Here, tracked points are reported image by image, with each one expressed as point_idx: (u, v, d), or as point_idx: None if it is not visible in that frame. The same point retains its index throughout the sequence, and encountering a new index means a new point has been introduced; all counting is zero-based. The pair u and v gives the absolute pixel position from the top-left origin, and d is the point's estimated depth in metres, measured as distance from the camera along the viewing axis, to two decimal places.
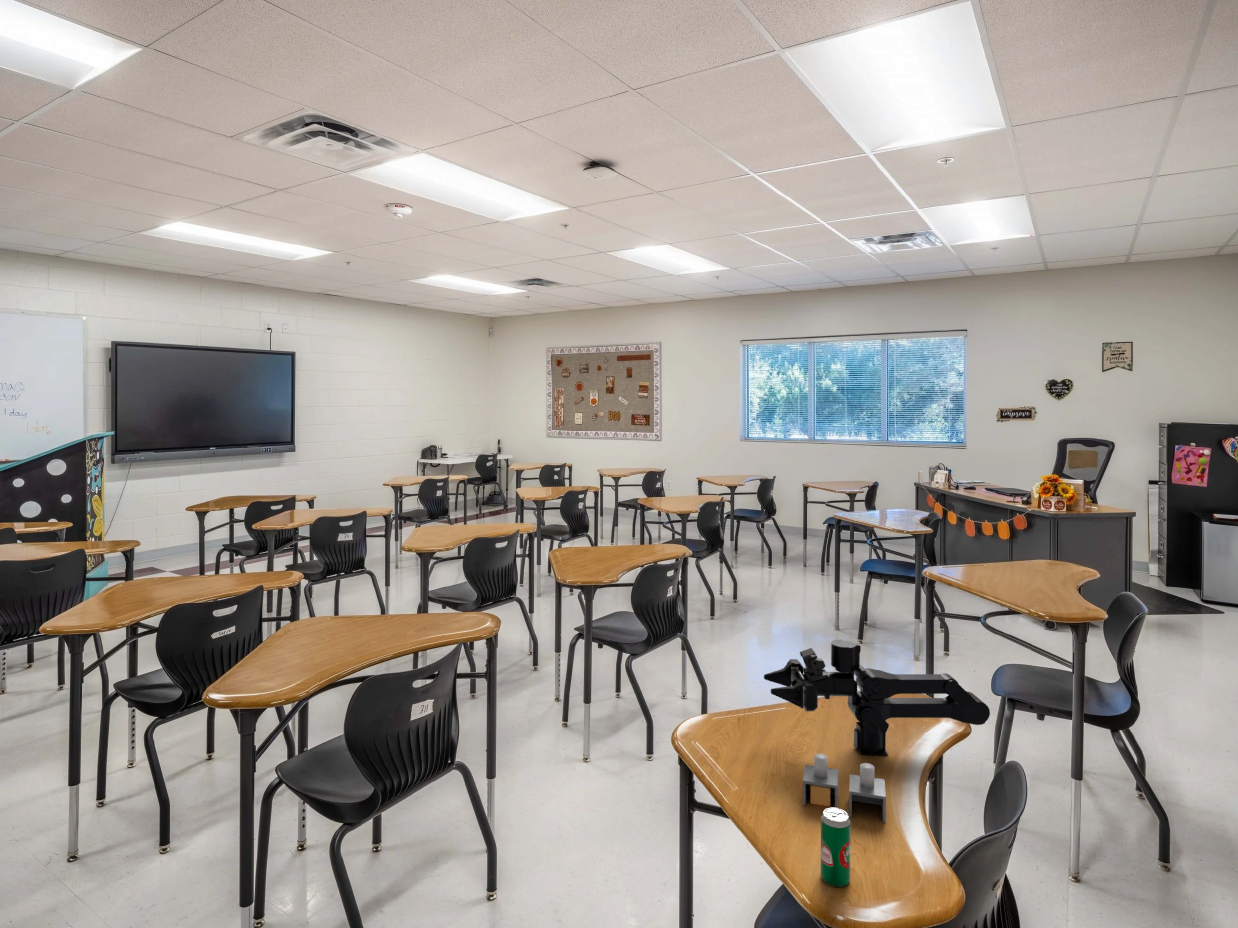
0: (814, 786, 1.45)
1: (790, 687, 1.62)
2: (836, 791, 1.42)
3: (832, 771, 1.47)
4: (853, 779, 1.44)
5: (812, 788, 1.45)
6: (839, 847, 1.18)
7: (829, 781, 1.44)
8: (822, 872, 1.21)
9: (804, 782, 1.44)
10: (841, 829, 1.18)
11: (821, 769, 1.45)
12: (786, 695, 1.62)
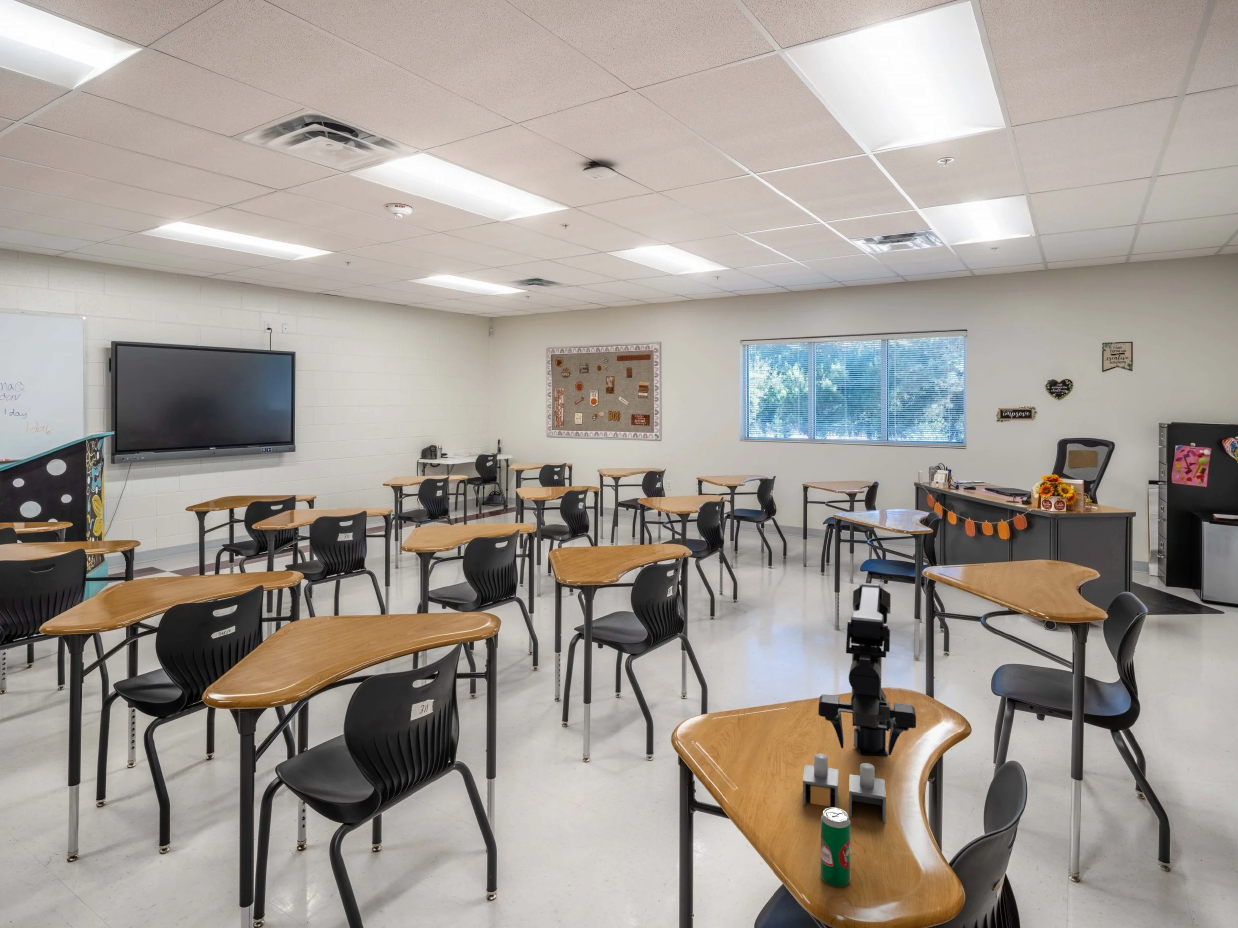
0: (814, 786, 1.45)
1: (895, 736, 1.38)
2: (836, 791, 1.42)
3: (832, 771, 1.47)
4: (853, 779, 1.44)
5: (812, 788, 1.45)
6: (839, 847, 1.18)
7: (829, 781, 1.44)
8: (822, 872, 1.21)
9: (804, 782, 1.44)
10: (841, 829, 1.18)
11: (821, 769, 1.45)
12: None
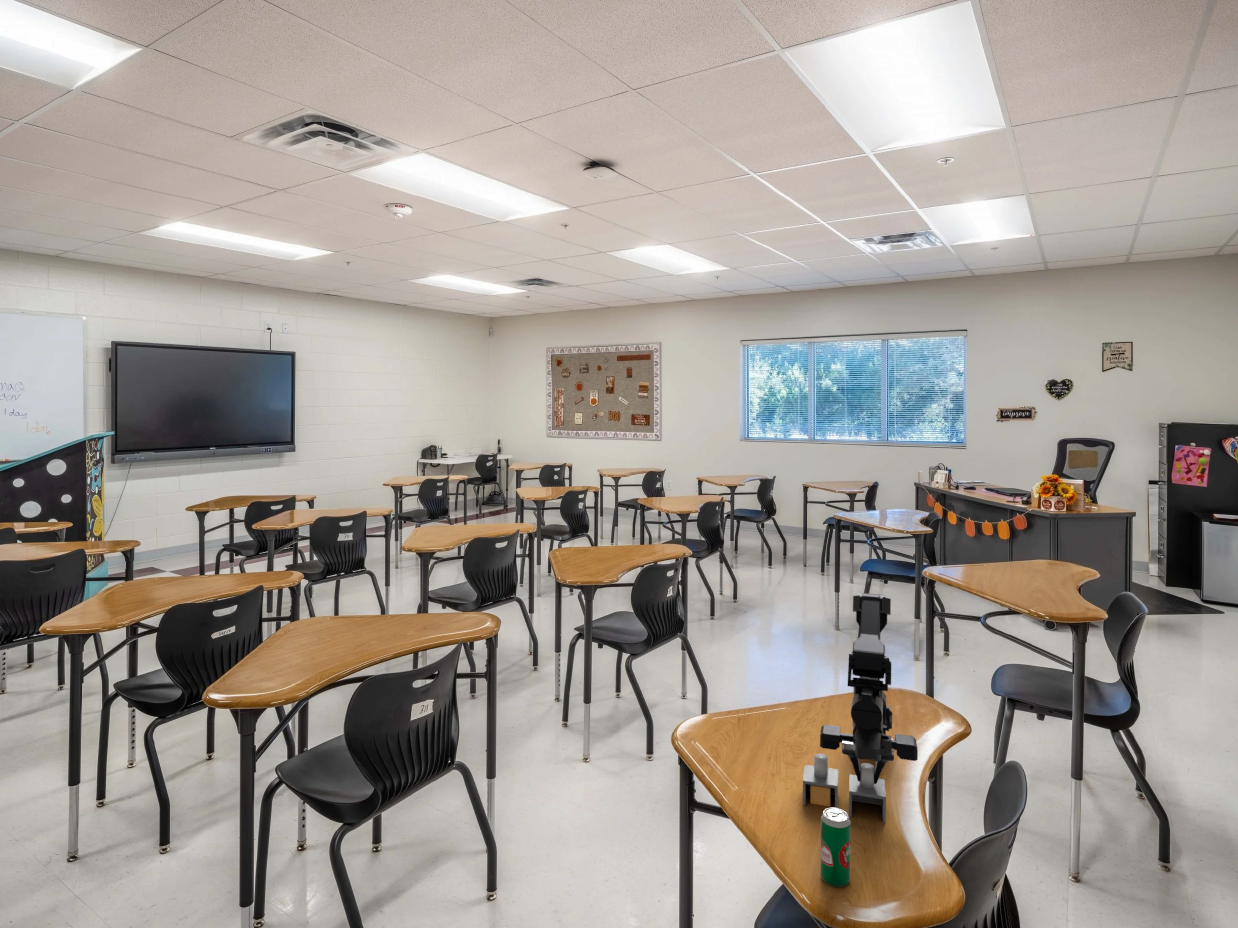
0: (814, 786, 1.45)
1: (880, 765, 1.39)
2: (836, 791, 1.42)
3: (832, 771, 1.47)
4: (853, 779, 1.44)
5: (812, 788, 1.45)
6: (839, 847, 1.18)
7: (829, 781, 1.44)
8: (822, 872, 1.21)
9: (804, 782, 1.44)
10: (841, 829, 1.18)
11: (821, 769, 1.45)
12: None
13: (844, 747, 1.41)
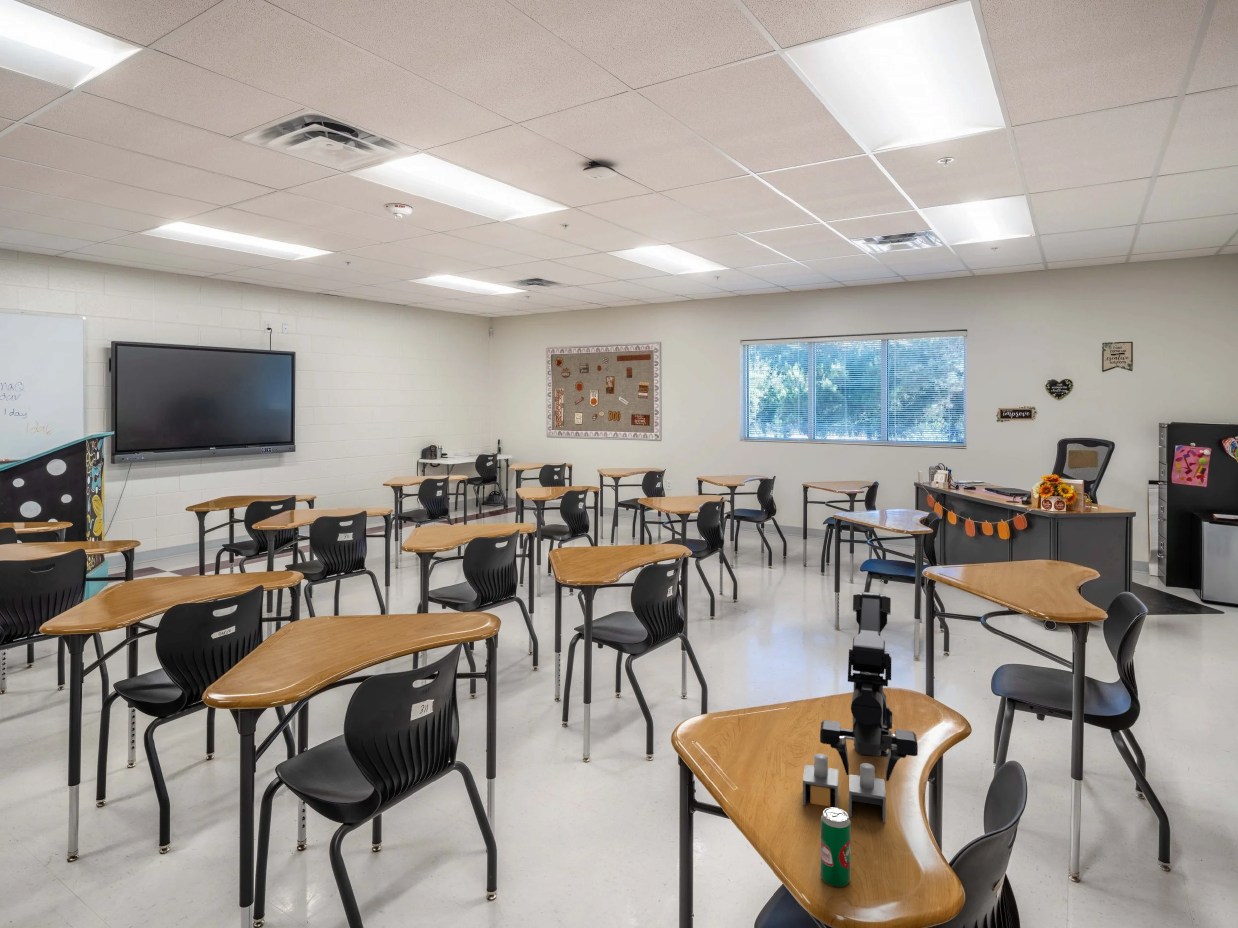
0: (814, 786, 1.45)
1: (892, 762, 1.39)
2: (836, 791, 1.42)
3: (832, 771, 1.47)
4: (853, 780, 1.44)
5: (812, 788, 1.45)
6: (839, 847, 1.18)
7: (829, 781, 1.44)
8: (822, 872, 1.21)
9: (804, 782, 1.44)
10: (841, 829, 1.18)
11: (821, 769, 1.45)
12: None
13: None
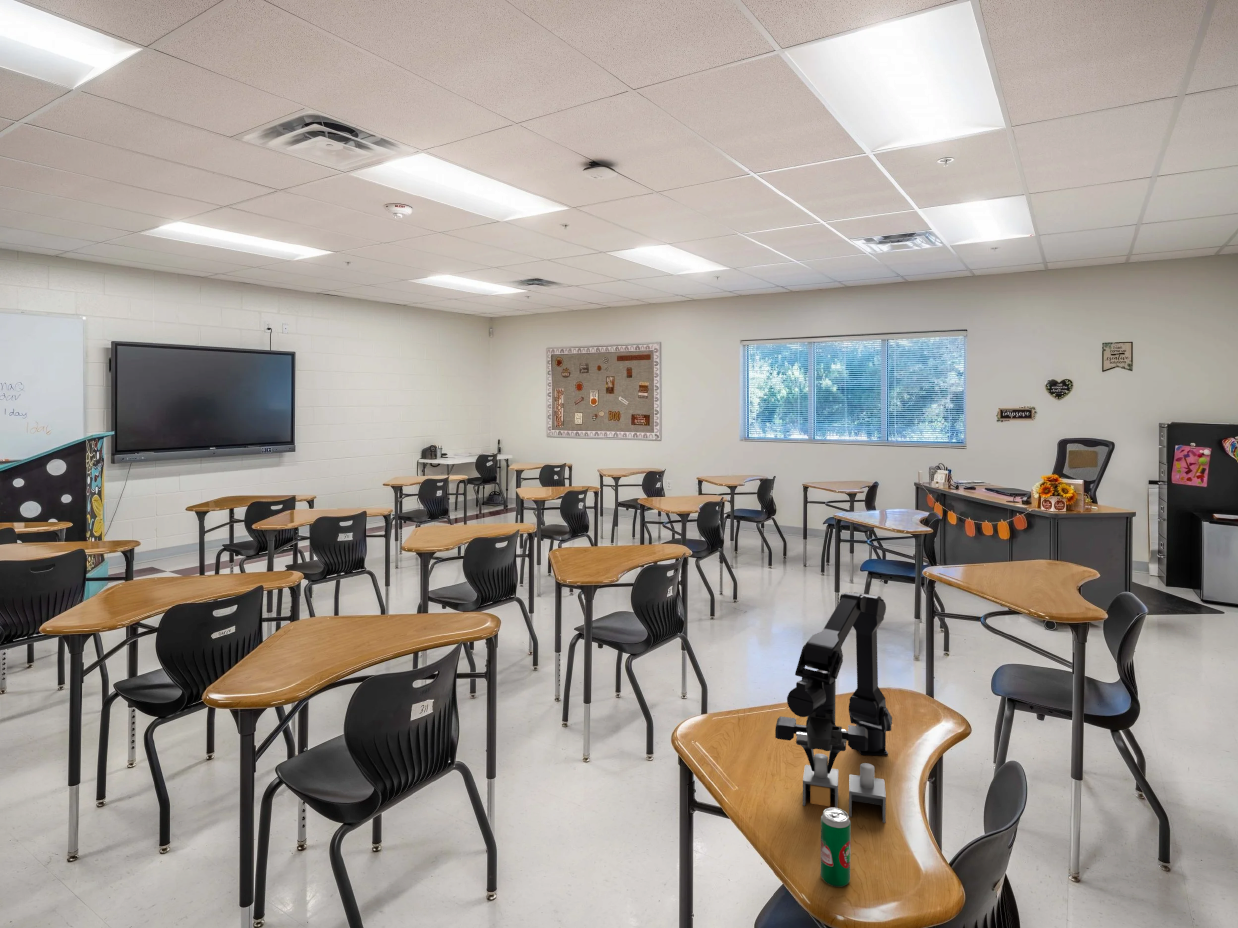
0: (814, 786, 1.45)
1: (833, 755, 1.44)
2: (836, 791, 1.42)
3: (832, 771, 1.47)
4: (853, 780, 1.44)
5: (812, 788, 1.45)
6: (839, 847, 1.18)
7: (829, 781, 1.44)
8: (822, 872, 1.21)
9: (804, 782, 1.44)
10: (841, 829, 1.18)
11: (821, 769, 1.45)
12: None
13: (798, 738, 1.45)
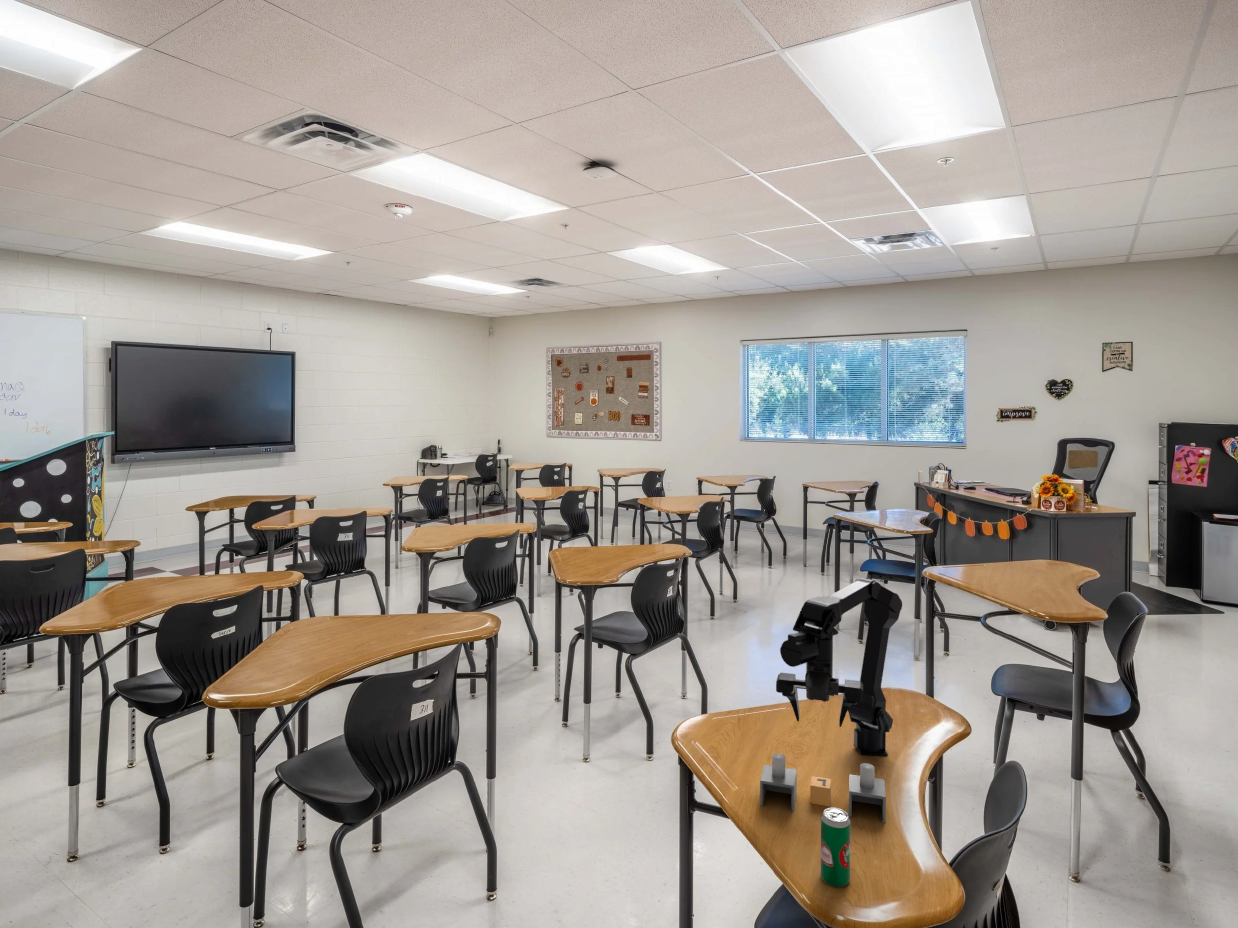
0: (814, 786, 1.45)
1: (845, 709, 1.52)
2: (792, 791, 1.42)
3: (790, 771, 1.48)
4: (853, 780, 1.44)
5: (812, 788, 1.45)
6: (839, 847, 1.18)
7: (786, 780, 1.44)
8: (822, 872, 1.21)
9: (761, 782, 1.44)
10: (841, 829, 1.18)
11: (778, 769, 1.45)
12: None
13: None
